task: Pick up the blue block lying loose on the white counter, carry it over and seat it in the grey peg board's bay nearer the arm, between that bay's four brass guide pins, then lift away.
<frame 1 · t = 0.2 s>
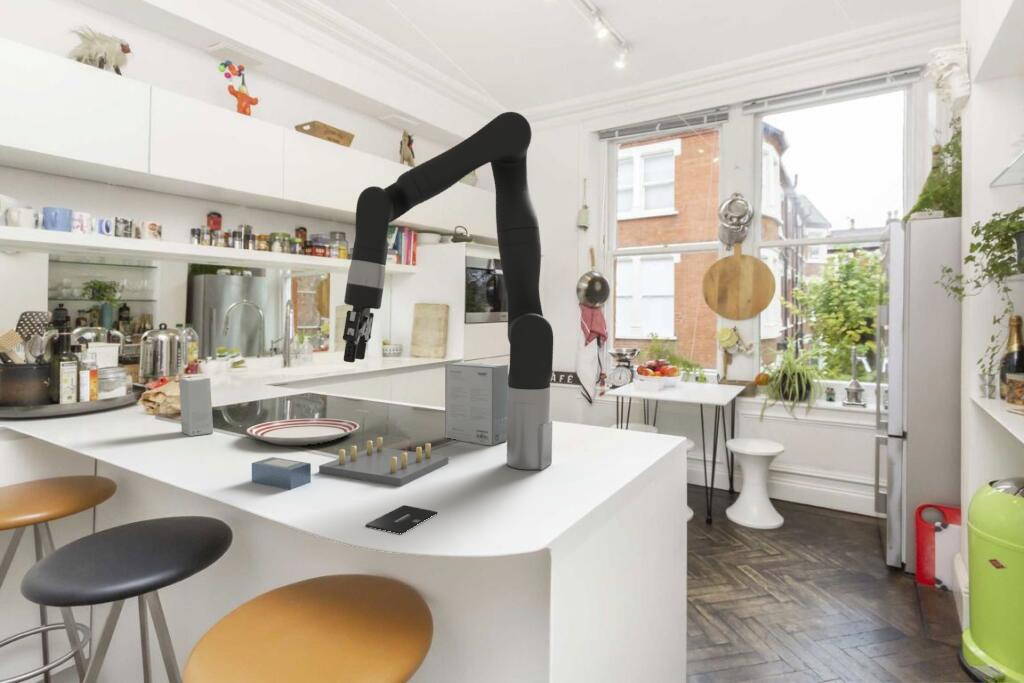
hand: (354, 360, 117), 23 cm above the countertop, tool pointing down, fingers open, 8 cm apart
blue block: (281, 483, 107), on the countertop
solid state drive: (402, 523, 89), on the countertop
grey peg board: (386, 467, 118), on the countertop
dinner plate: (304, 439, 145), on the countertop
hard drive box: (475, 440, 145), on the countertop
skincare box: (196, 433, 148), on the countertop
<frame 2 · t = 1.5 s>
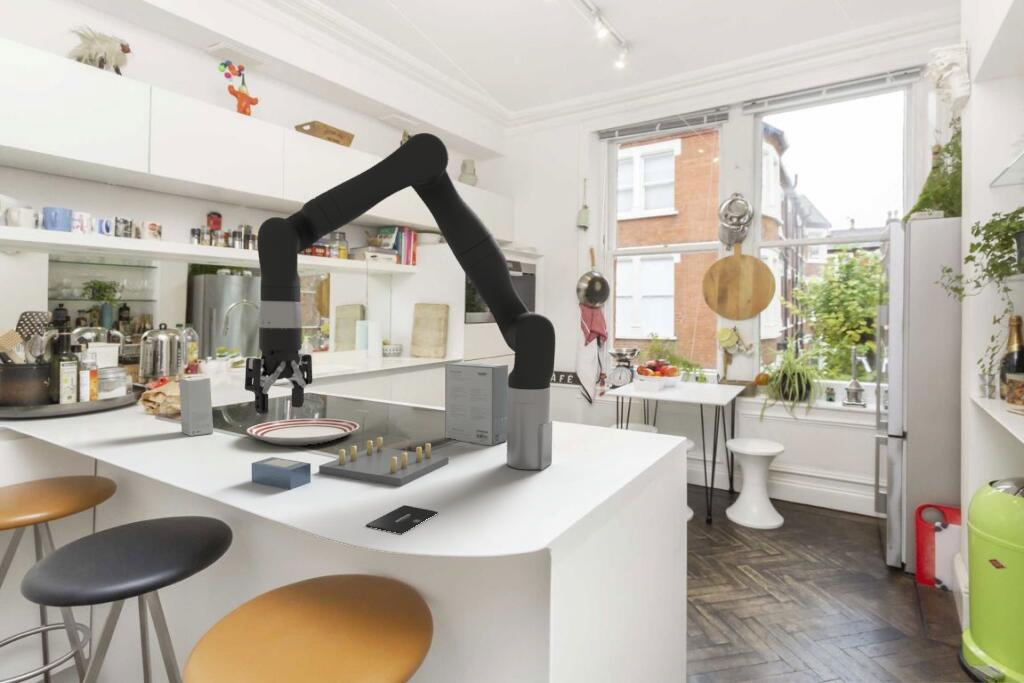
hand: (280, 410, 106), 14 cm above the countertop, tool pointing down, fingers open, 8 cm apart
nothing on the countertop moved.
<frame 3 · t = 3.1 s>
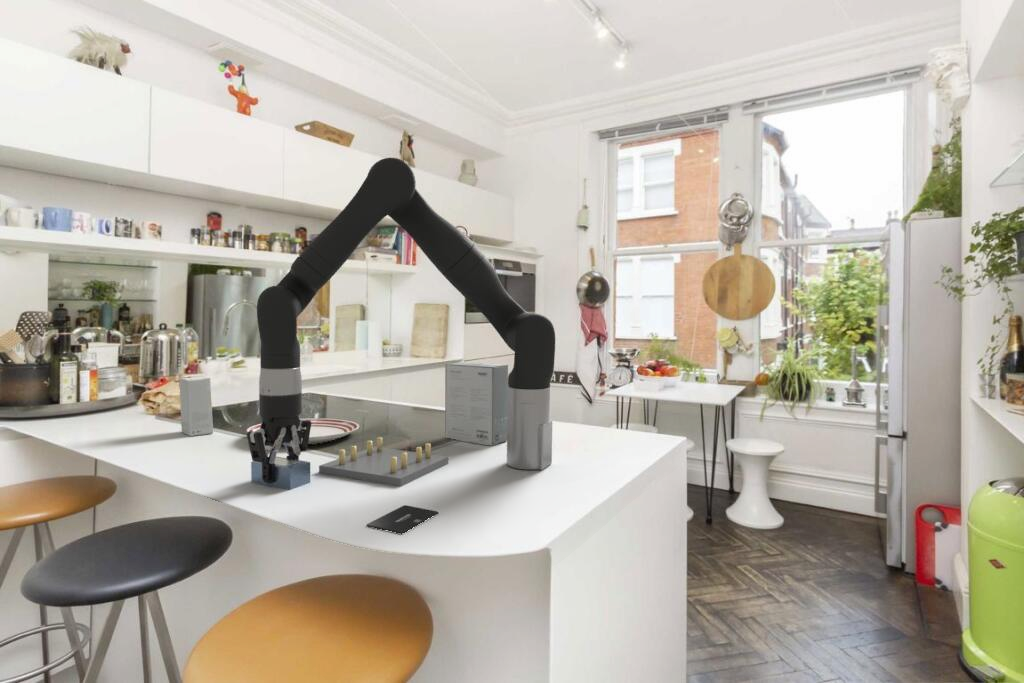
hand: (281, 478, 107), 1 cm above the countertop, tool pointing down, fingers closed on blue block, 5 cm apart
blue block: (280, 482, 107), on the countertop, touching gripper
everything else where it was.
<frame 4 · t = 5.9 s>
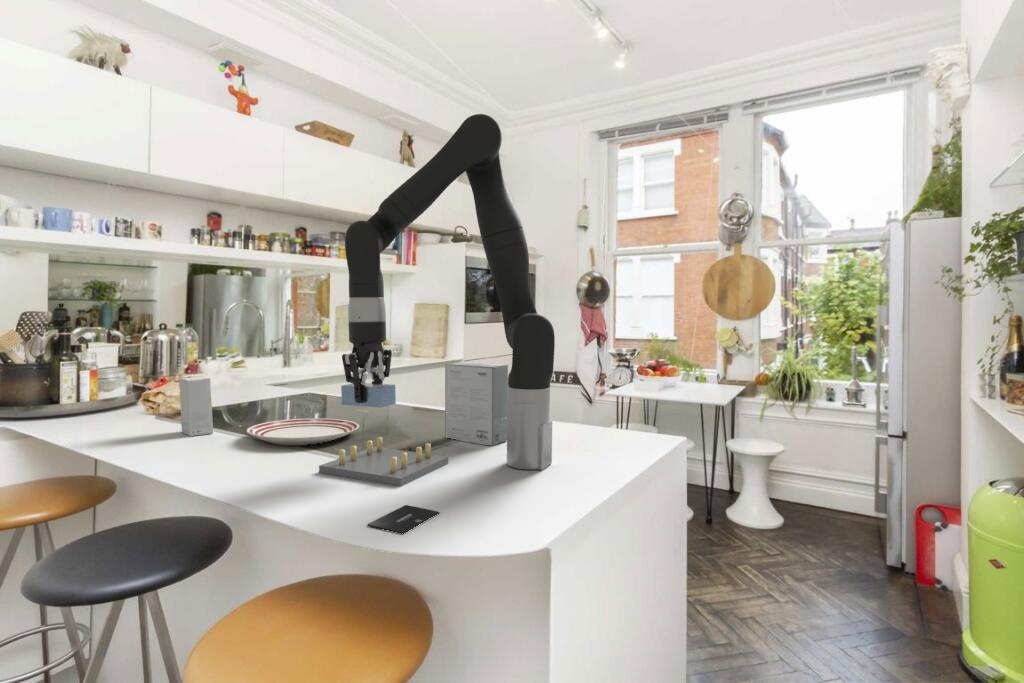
hand: (369, 400, 116), 15 cm above the countertop, tool pointing down, fingers closed on blue block, 5 cm apart
blue block: (368, 404, 117), point 14 cm above the countertop, touching gripper
everything else where it was.
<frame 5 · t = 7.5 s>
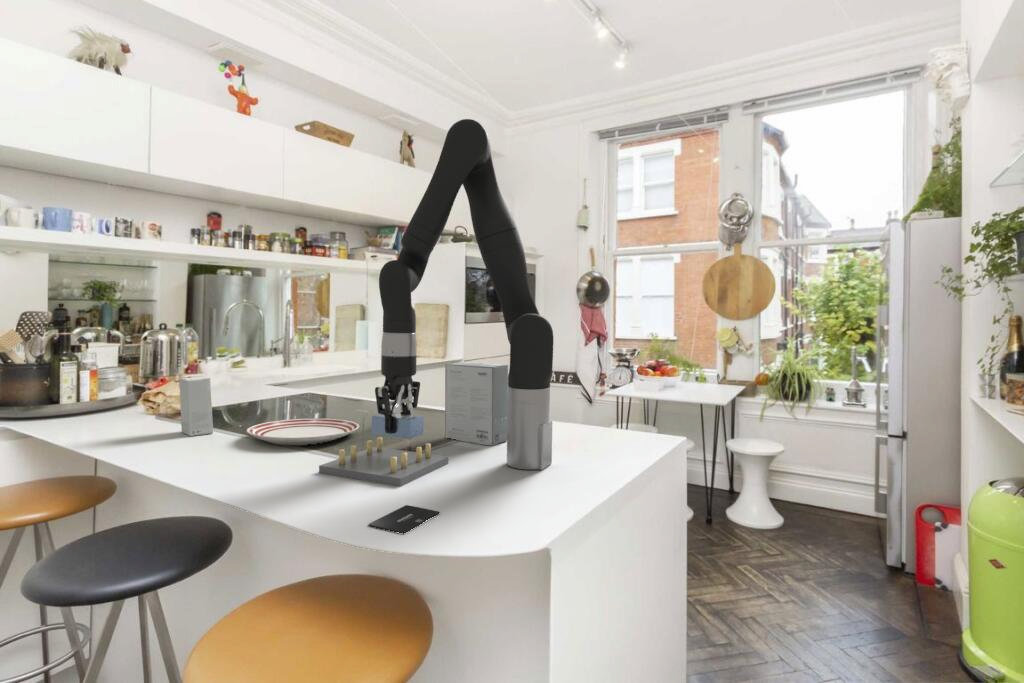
hand: (398, 430, 121), 7 cm above the countertop, tool pointing down, fingers closed on blue block, 5 cm apart
blue block: (397, 434, 122), point 6 cm above the countertop, touching gripper
everything else where it was.
when the fingers open (4 cm above the countertop, at t = 8.7 s): blue block drops 1 cm, resting on grey peg board.
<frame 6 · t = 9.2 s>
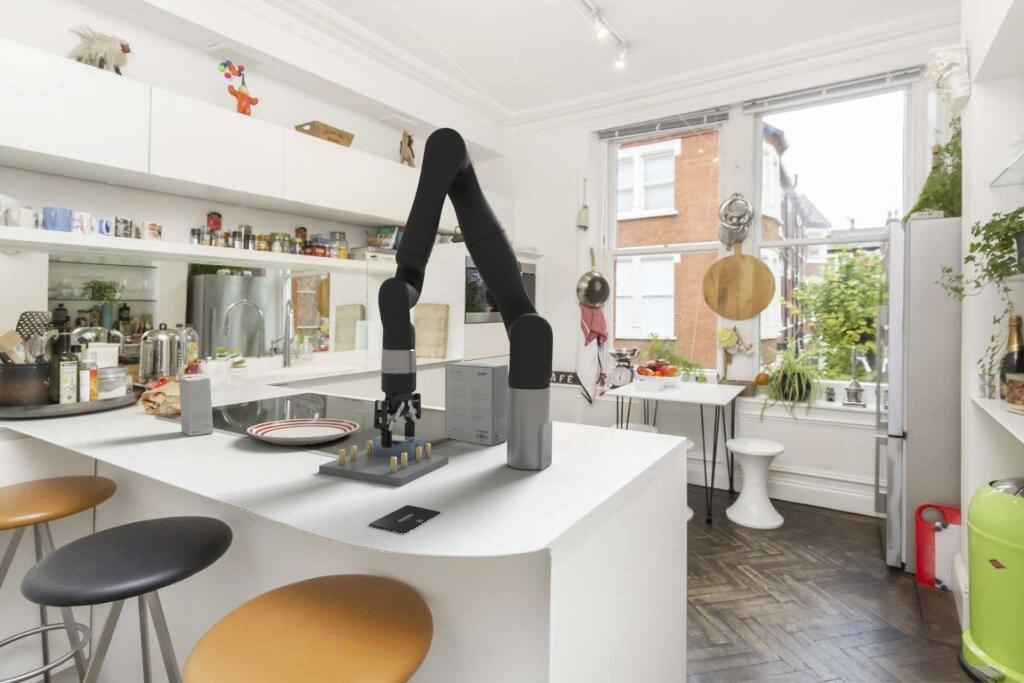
hand: (398, 443, 122), 4 cm above the countertop, tool pointing down, fingers open, 8 cm apart
blue block: (398, 456, 122), point 1 cm above the countertop, touching grey peg board
everything else where it was.
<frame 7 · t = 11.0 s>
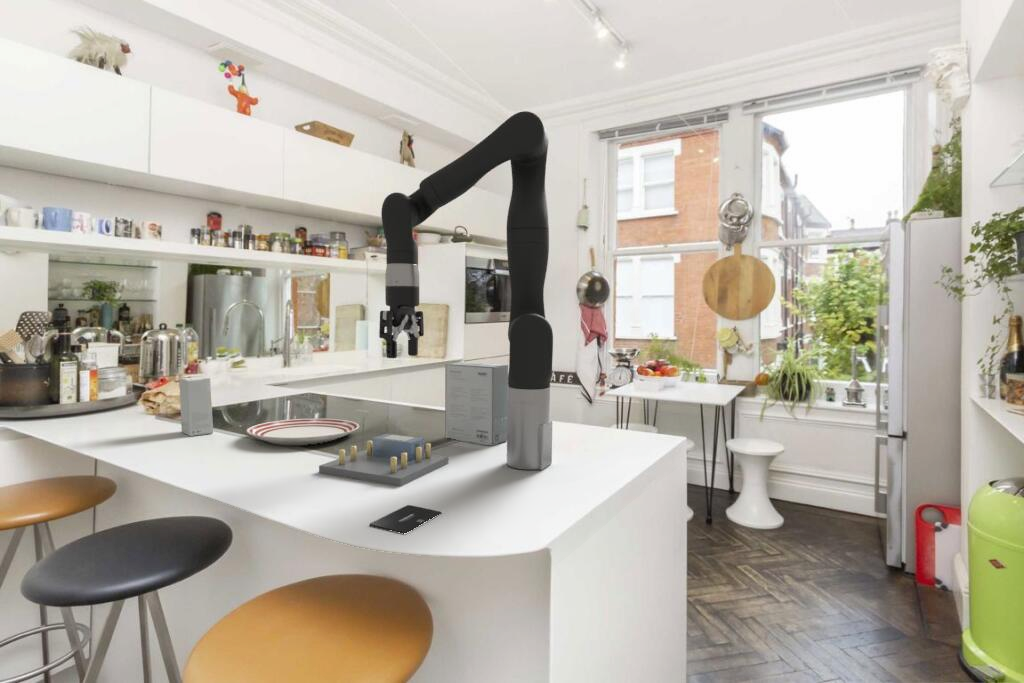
hand: (402, 356, 126), 23 cm above the countertop, tool pointing down, fingers open, 8 cm apart
nothing on the countertop moved.
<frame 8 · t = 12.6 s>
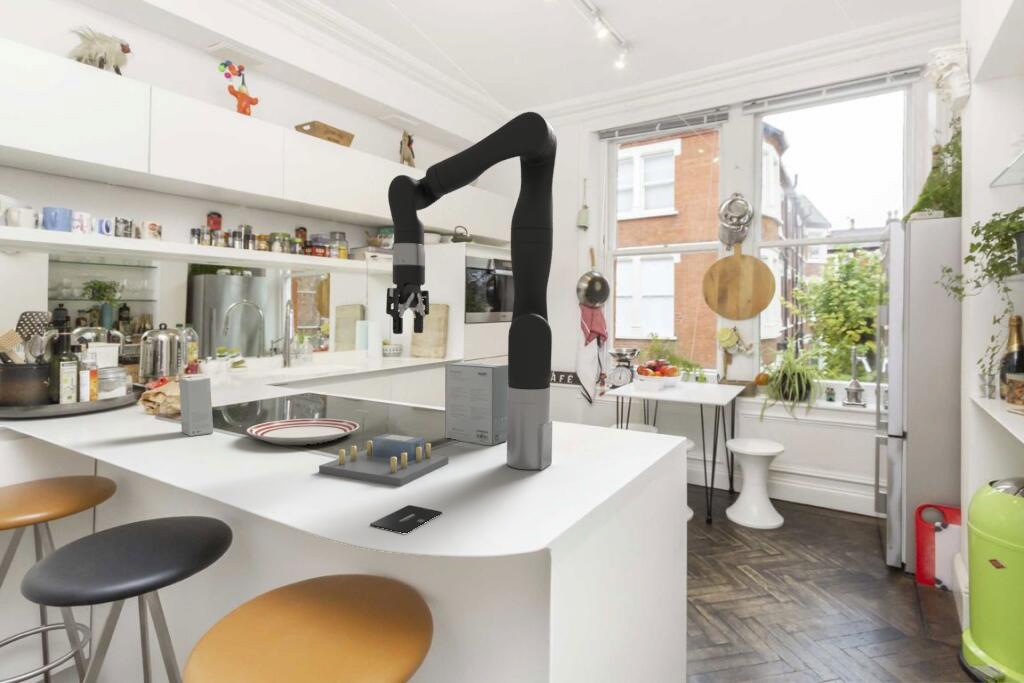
hand: (408, 333, 131), 28 cm above the countertop, tool pointing down, fingers open, 8 cm apart
nothing on the countertop moved.
at the end: blue block 0.0 cm from the target spot on the grey peg board, point 1.5 cm above the grey peg board's base; blue block tilted 0°; the gripper is holding nothing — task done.
